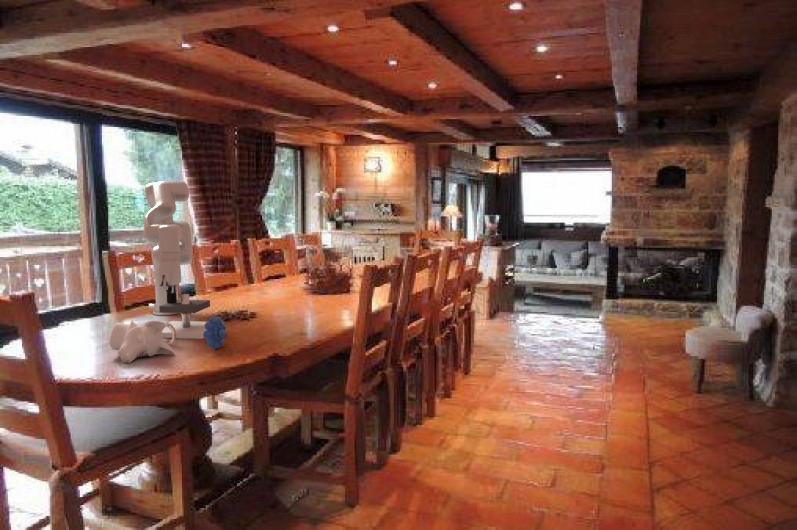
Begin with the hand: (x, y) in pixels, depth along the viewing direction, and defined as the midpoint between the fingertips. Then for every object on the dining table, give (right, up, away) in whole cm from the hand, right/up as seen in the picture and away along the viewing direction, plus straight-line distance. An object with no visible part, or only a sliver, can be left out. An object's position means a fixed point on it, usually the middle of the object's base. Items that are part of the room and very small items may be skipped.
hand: (172, 302), depth 216 cm
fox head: (+4, -16, -35) cm, 39 cm away
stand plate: (+5, -12, +1) cm, 13 cm away
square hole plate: (+5, -3, 0) cm, 6 cm away
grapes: (+26, -15, -24) cm, 39 cm away
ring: (+6, -14, -18) cm, 23 cm away
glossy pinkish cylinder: (+5, -10, +1) cm, 11 cm away
